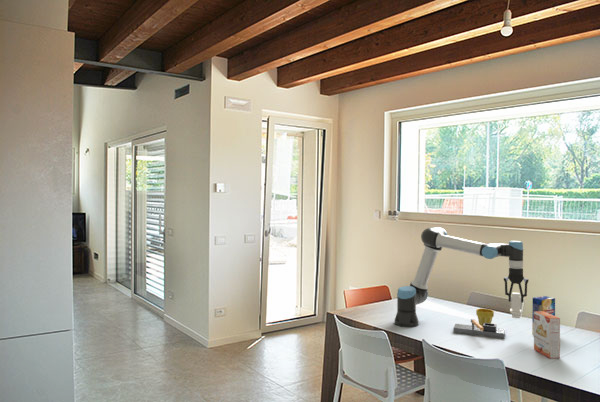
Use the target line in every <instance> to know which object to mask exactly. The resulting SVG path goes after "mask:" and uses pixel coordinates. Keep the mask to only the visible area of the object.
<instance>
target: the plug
mask: <svg viewBox="0 0 600 402" xmlns="http://www.w3.org/2000/svg"><path fill="white" fill-rule="evenodd" d="M511 296H512V308H510V309H509V313H510V314H511V318H513V319H521V318H520V317H521V315H522V309H520V297H521V294H520V292H513V291H512V293H511Z"/></svg>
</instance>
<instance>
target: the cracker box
mask: <svg viewBox="0 0 600 402" xmlns="http://www.w3.org/2000/svg"><path fill="white" fill-rule="evenodd" d="M533 349H534V351H536V352H538V353H539V354H541V355H542V356H545V357H547V359H560V358H561V318H560V317H558V316H556V315H555V316H554V315H551V314H549V313H546V312H544V311H535V312H534V335H533Z"/></svg>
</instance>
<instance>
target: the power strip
mask: <svg viewBox="0 0 600 402" xmlns="http://www.w3.org/2000/svg"><path fill="white" fill-rule="evenodd" d="M505 332H506V329H505V328H497V323H492V322H491V323H484V324H483V330H480V329H479V328H478V327H477V326H475V325H474V329H472V324H462V323H461V324H460V323H455V324H454V325H453V333H455V334H462V335H470V336H476V337H477V336H478V337H486V338H493V339H501V340H503V339H505Z"/></svg>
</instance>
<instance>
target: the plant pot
mask: <svg viewBox="0 0 600 402" xmlns="http://www.w3.org/2000/svg"><path fill="white" fill-rule="evenodd" d="M494 315H495V311H494V310H492V309H491V308H490V309H488V308H477V309H476V316H477V320H478V321H477V322H478V323H479V324H480V325H481V326H482V327H483V324H484V323H492V321H493V318H494V317H495V316H494Z"/></svg>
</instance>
